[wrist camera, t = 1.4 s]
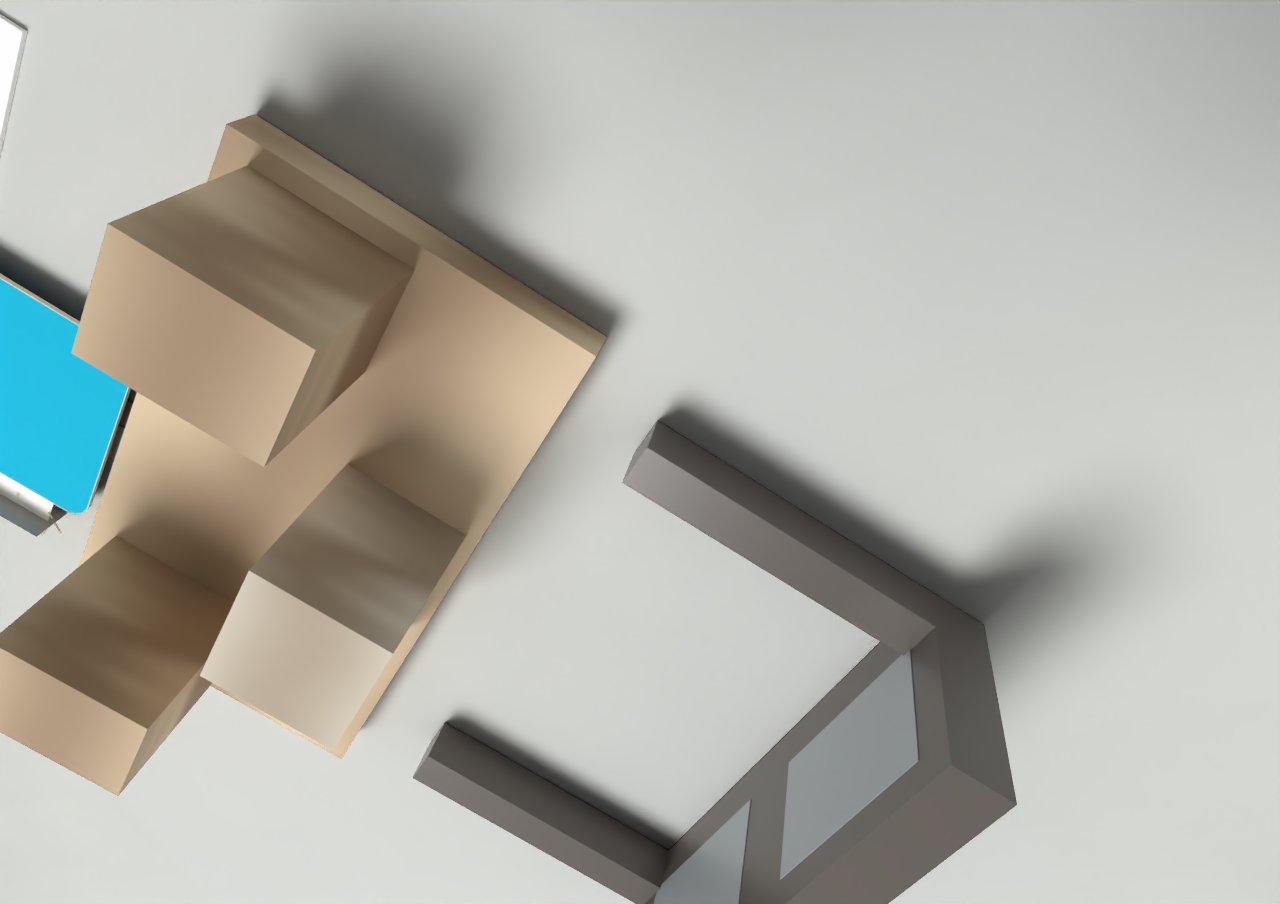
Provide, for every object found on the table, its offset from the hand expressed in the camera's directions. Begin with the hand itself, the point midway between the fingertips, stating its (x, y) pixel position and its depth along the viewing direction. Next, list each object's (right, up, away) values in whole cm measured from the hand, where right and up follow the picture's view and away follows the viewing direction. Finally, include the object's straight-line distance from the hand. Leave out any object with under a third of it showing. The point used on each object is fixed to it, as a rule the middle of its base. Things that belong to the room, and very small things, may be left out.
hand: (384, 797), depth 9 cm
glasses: (+3, -3, +15) cm, 15 cm away
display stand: (-5, +3, +14) cm, 15 cm away
